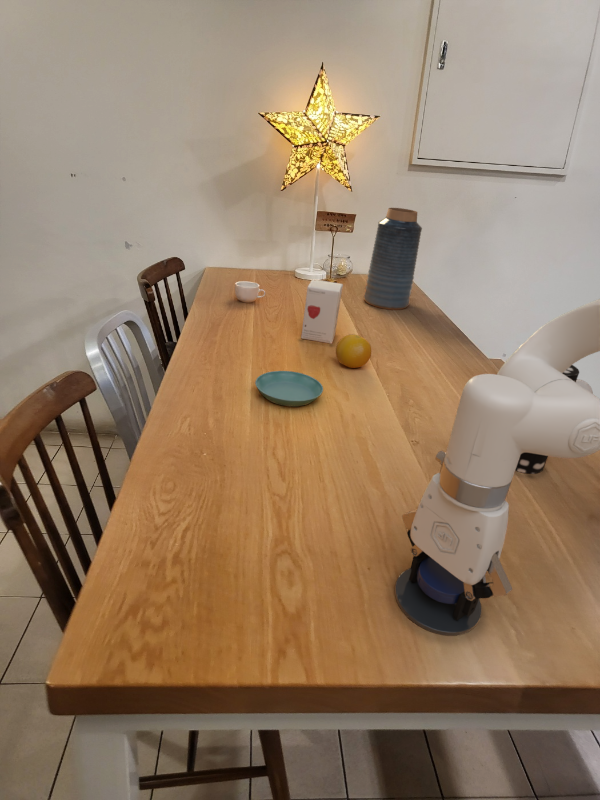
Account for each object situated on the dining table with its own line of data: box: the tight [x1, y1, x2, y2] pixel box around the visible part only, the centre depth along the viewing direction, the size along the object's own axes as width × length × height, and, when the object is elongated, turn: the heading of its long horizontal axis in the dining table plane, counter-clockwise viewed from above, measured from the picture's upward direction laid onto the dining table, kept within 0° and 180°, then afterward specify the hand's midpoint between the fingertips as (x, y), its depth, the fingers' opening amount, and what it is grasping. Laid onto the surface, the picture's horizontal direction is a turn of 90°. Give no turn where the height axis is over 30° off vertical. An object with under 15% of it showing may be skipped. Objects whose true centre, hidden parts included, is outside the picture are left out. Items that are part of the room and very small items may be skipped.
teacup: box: [234, 280, 266, 304], centre depth 175 cm, size 10×8×5 cm
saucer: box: [254, 370, 324, 408], centre depth 117 cm, size 15×15×3 cm
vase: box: [363, 207, 423, 311], centre depth 184 cm, size 16×16×32 cm
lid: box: [417, 557, 464, 604], centre depth 68 cm, size 6×7×2 cm
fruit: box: [335, 333, 372, 369], centre depth 135 cm, size 9×8×8 cm
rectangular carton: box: [300, 278, 344, 344], centre depth 150 cm, size 9×9×15 cm
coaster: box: [394, 567, 483, 637], centre depth 69 cm, size 11×11×1 cm
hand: (439, 594), depth 69 cm, fingers closed on lid, 6 cm apart
